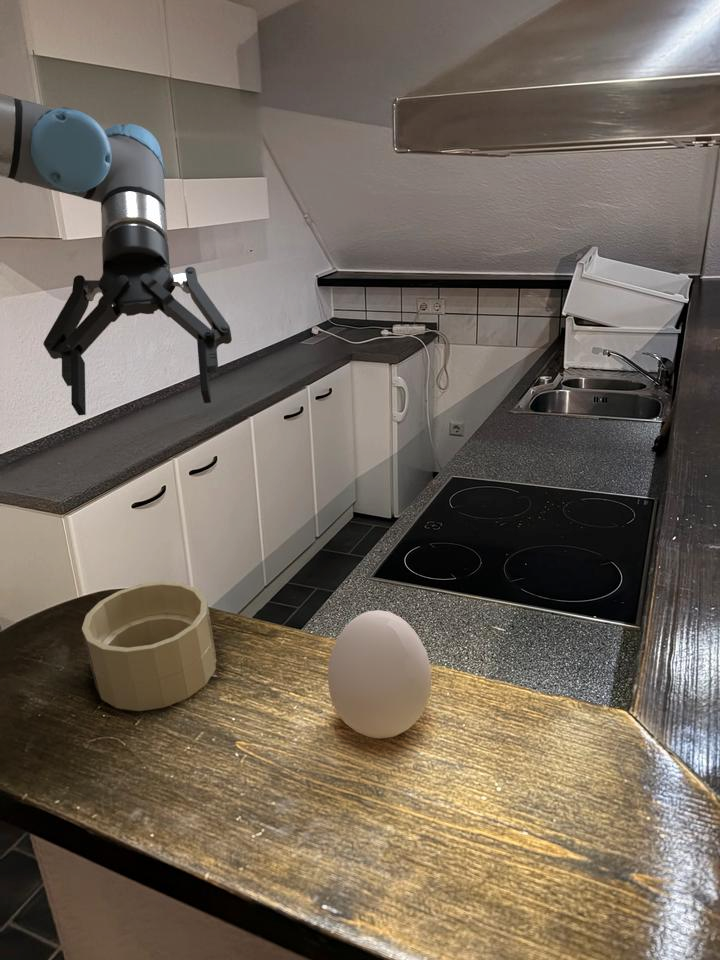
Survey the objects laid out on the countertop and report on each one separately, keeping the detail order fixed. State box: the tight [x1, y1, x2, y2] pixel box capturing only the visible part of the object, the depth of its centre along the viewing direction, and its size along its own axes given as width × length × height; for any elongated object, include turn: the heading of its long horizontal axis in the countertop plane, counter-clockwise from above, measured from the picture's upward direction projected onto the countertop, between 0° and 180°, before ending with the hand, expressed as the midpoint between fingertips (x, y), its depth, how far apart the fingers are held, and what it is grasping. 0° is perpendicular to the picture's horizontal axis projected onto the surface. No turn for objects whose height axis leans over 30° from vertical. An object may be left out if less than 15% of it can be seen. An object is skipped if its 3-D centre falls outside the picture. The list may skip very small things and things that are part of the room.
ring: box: [81, 581, 217, 712], centre depth 72 cm, size 11×11×8 cm
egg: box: [327, 609, 432, 740], centre depth 64 cm, size 9×9×11 cm
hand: (143, 403), depth 83 cm, fingers open, 13 cm apart
